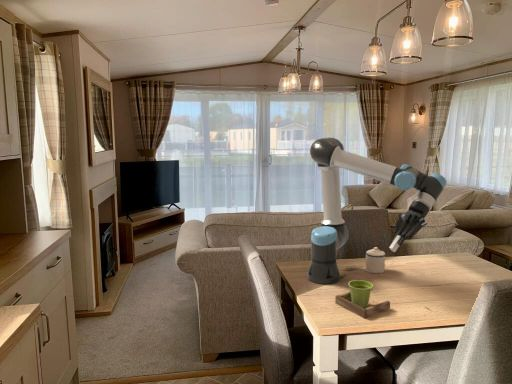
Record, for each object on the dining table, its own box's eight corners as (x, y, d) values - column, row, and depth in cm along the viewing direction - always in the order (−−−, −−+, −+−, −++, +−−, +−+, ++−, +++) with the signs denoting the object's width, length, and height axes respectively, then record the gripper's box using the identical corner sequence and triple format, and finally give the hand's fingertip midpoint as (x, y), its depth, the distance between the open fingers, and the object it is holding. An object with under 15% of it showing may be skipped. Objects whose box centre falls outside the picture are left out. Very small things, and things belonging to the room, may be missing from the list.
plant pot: (351, 298, 163) (352, 278, 161) (375, 303, 158) (375, 282, 157) (344, 307, 155) (345, 286, 153) (368, 312, 150) (369, 290, 149)
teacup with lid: (388, 272, 191) (389, 249, 190) (372, 274, 189) (373, 251, 187) (373, 264, 203) (374, 242, 201) (358, 266, 200) (359, 244, 198)
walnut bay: (360, 295, 165) (360, 288, 165) (389, 309, 152) (390, 301, 152) (335, 303, 158) (335, 295, 158) (364, 318, 145) (364, 310, 145)
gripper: (438, 213, 163) (409, 259, 157) (411, 208, 174) (383, 250, 168) (431, 202, 159) (401, 248, 153) (404, 197, 170) (375, 240, 164)
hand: (392, 249), depth 160 cm, fingers closed
